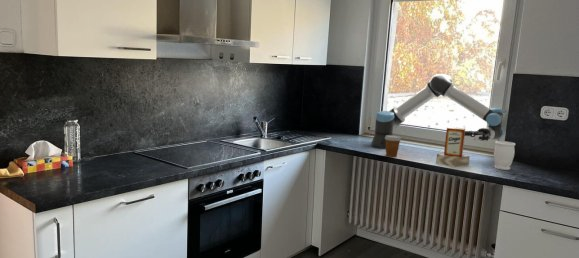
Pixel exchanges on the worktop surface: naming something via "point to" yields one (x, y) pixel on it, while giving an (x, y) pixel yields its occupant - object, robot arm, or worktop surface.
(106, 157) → the worktop surface
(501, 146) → the jar
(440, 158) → the plinth
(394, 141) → the disposable coffee cup
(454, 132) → the baking soda box
